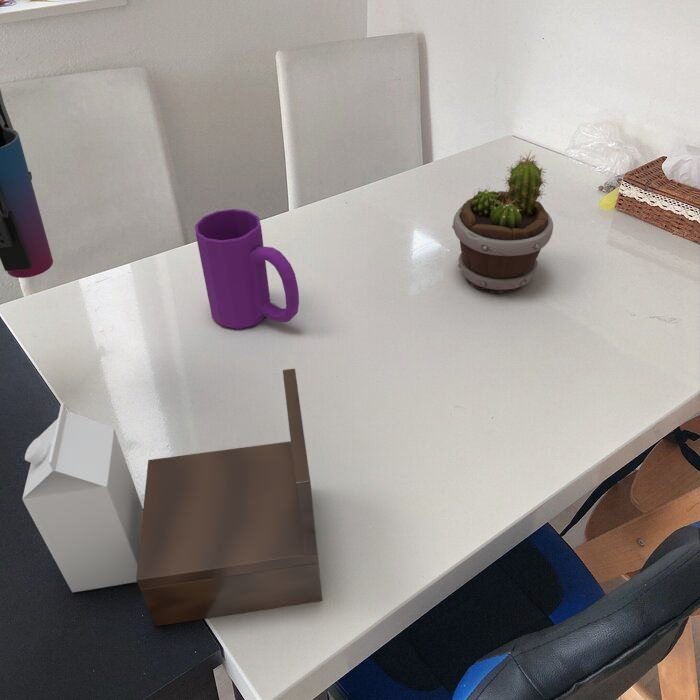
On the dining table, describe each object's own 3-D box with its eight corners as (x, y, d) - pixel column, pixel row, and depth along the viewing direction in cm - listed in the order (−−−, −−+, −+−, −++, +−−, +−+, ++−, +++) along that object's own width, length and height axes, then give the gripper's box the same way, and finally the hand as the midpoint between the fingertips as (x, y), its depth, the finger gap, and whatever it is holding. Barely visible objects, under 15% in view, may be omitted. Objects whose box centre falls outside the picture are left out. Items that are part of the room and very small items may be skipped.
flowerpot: (483, 314, 101) (498, 190, 88) (432, 264, 111) (439, 147, 99) (563, 289, 105) (589, 167, 92) (506, 243, 116) (522, 129, 103)
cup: (-14, 271, 77) (-68, 144, 68) (37, 245, 82) (-8, 122, 72) (22, 289, 74) (-29, 159, 65) (73, 261, 79) (32, 135, 69)
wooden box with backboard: (155, 626, 64) (106, 509, 53) (163, 507, 75) (124, 388, 64) (322, 600, 66) (310, 481, 54) (307, 487, 77) (294, 368, 65)
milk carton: (149, 523, 73) (103, 396, 61) (145, 582, 68) (94, 455, 56) (81, 534, 73) (21, 408, 60) (72, 594, 67) (4, 468, 55)
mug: (237, 288, 108) (223, 202, 98) (318, 317, 101) (312, 228, 92) (198, 319, 102) (179, 230, 92) (282, 352, 95) (271, 260, 86)
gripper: (-44, 62, 55) (44, 295, 70) (8, 6, 70) (71, 209, 85) (-142, 69, 55) (-33, 303, 69) (-69, 11, 69) (9, 215, 84)
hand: (24, 251), depth 77 cm, fingers closed on cup, 6 cm apart
